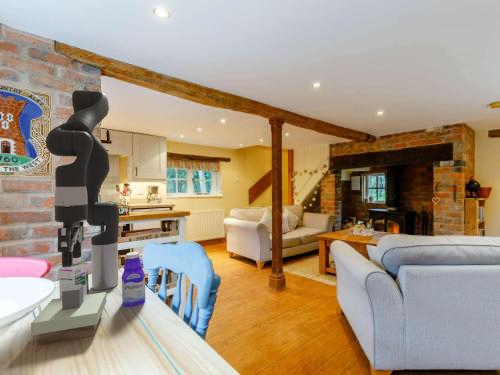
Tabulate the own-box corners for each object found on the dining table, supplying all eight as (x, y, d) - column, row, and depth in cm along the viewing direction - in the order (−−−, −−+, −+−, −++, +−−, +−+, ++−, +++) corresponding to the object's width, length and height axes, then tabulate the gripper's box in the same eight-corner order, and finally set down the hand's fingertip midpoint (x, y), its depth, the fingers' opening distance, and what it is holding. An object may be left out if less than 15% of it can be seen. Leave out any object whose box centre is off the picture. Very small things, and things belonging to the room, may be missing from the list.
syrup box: (74, 313, 82) (74, 267, 82) (59, 311, 83) (58, 266, 83) (89, 305, 87) (88, 262, 87) (74, 303, 89) (73, 261, 88)
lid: (52, 309, 76) (52, 282, 76) (106, 301, 81) (106, 276, 81) (31, 335, 63) (30, 302, 63) (96, 324, 68) (96, 293, 68)
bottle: (122, 310, 83) (121, 256, 83) (121, 303, 88) (120, 252, 88) (146, 305, 87) (145, 253, 86) (144, 299, 92) (143, 250, 91)
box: (55, 323, 76) (55, 303, 76) (102, 316, 80) (102, 297, 80) (38, 348, 65) (37, 324, 64) (93, 338, 69) (93, 315, 69)
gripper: (63, 202, 77) (64, 256, 77) (44, 205, 64) (45, 271, 64) (92, 201, 80) (93, 254, 80) (80, 204, 66) (81, 268, 66)
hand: (72, 261), depth 72 cm, fingers open, 8 cm apart
